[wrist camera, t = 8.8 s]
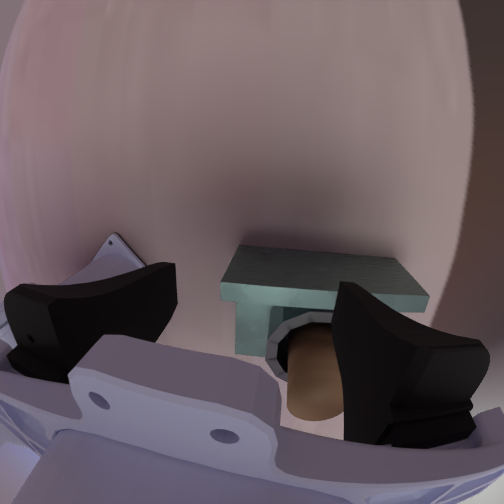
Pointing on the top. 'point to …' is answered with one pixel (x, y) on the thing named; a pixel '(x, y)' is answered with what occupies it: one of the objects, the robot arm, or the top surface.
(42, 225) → the top surface
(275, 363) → the cup bracket
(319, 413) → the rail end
